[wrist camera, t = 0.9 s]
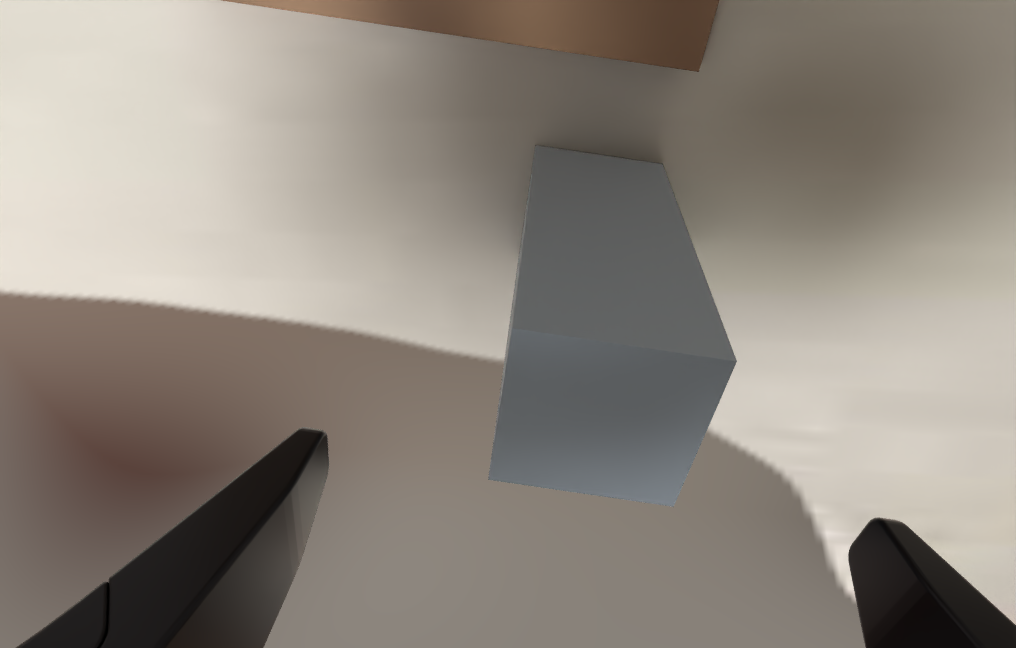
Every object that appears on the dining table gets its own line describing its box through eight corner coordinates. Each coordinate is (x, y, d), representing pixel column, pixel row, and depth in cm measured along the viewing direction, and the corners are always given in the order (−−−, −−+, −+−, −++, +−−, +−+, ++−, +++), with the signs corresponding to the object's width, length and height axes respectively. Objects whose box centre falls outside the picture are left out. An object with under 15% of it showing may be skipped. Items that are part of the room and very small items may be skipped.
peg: (662, 164, 19) (736, 361, 11) (631, 274, 21) (673, 506, 13) (535, 145, 19) (512, 328, 11) (518, 257, 21) (488, 479, 13)
